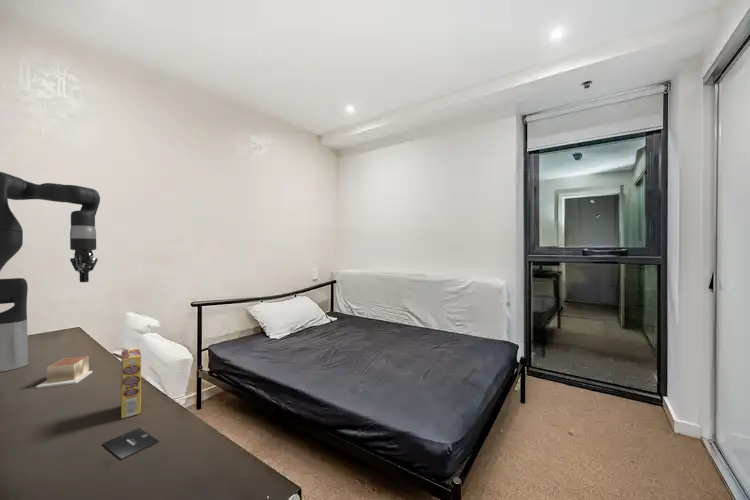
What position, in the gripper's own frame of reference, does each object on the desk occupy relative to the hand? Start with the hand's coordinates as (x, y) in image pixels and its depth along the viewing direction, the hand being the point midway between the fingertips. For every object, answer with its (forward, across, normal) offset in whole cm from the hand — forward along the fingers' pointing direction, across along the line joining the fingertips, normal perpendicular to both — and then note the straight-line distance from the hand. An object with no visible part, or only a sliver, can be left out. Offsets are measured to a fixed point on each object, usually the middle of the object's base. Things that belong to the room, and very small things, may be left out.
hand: (84, 282), depth 123 cm
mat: (+31, -15, +14) cm, 37 cm away
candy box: (+32, -58, +21) cm, 69 cm away
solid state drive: (+32, -74, +31) cm, 86 cm away
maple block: (+28, -11, +9) cm, 31 cm away
